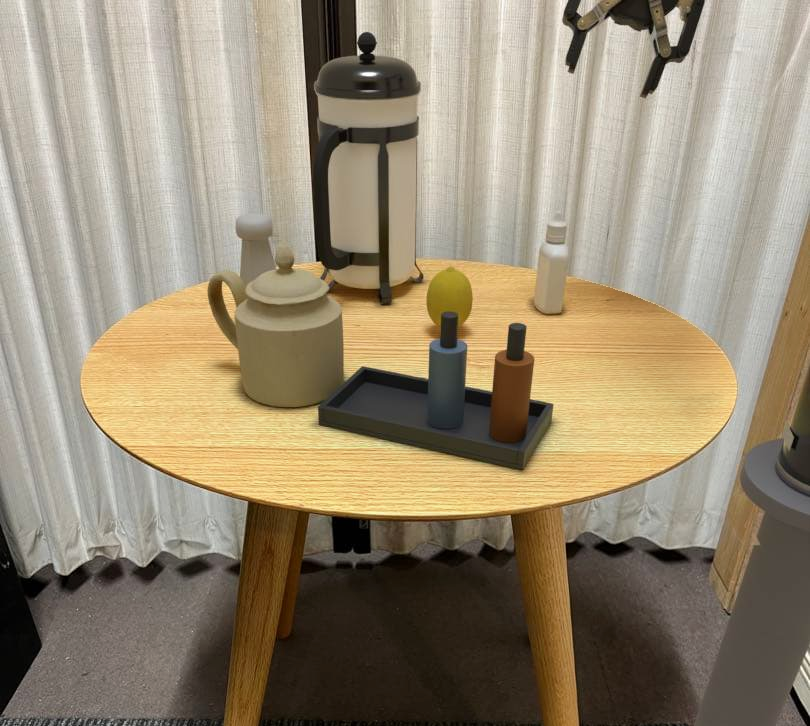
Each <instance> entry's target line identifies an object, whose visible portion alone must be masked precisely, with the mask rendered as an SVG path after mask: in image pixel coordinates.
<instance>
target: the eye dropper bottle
mask: <svg viewBox="0 0 810 726" xmlns="http://www.w3.org/2000/svg"><path fill="white" fill-rule="evenodd" d="M562 213H563V212H562V211H561V210H557V211H555V214H554V216H553V219H552V220H551V221H548V222H547V224H546V231H545V232H546V233H545V240H544V241H542V242H541V244H540V246H539V251H538V258H537V259H538V260H537V267H536V279H535V286H534V296H533V297H534V298H533V300H534V301H533V303H534V304H533V305H534V307H535V308H536V309H537V310H538V311H539V312H541V313H543V314H545V315H546V314H547V315H550V314H551V315H552V314H553V315H554V314H556V315H557V314H561V312H562V309H563V307H564V306H563V305H564V296H565V289H566V281H567V275H568V273H567V272H568V265H569V257H570V256H569V255H570V251H569V247H568V245H567V243H566V242H565V241H566V237H567V230H568V229H567V228H568V224H567V222H565V221H564V220H563V214H562Z"/></svg>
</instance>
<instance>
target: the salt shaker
mask: <svg viewBox="0 0 810 726" xmlns="http://www.w3.org/2000/svg"><path fill="white" fill-rule="evenodd" d="M273 230H274V228H273V221H272V218H271V217H270V216H269V215H268V214H265V213H260V212H247V213H244V214H243V213H242V214H240V215H239V216H237V218H236V219H235V234H236V236H237V237H238V238H239V239H241V251H240V268H239V276H240V278H241V279H242V280H243V282H244V284H245V285H246V286H247V285H248V284H249V283H250V282H251V281H253V280H255V279H256V278H257V277H258V276H260V275H261V274H263V273H265V272H267V271H271V270H275V269H277V267H276V262H275V258H274V255H273V251H272V248H271V244H270V240H269V238H271V237H272V236H273V233H274V232H273Z"/></svg>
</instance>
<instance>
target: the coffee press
mask: <svg viewBox="0 0 810 726" xmlns="http://www.w3.org/2000/svg"><path fill="white" fill-rule="evenodd" d="M377 44H378V42H377V39H376V37H375V35H374V34H373V33H372V32H369V31H364V32H362V33H361V34H359V36H358V38H357V41H356V45H357V48H358V49H359V51H360V52H361V53H360V54H359V55H348V56H342V57H337V58H334V59H331V60H329V61H327V62H326V63H325V64H324V65H323V66H322V67H321V69H320V71H319V72H318V75H317V80H315V81H314V83H313V89H314V92H315V95H316V96H317V104H318V105H317V106H318V107H317V108H318V116H317V117H316V121H317V134H318V143H317V146H316V149H315V154H314V159H313V168H312V187H313V188H312V189H313V190H312V191H313V205H314V206H313V211H314V227H315V240H316V241H315V243H316V249H317V254H318V255H317V256H318V258H319V261H320V263H321V265H322V266H323V272H322V274H321V276H320V277H319V279H321V280H323V281H325V280H326V278H327V276H328V275H329V276H330V278H331V279H332V280H331V281H330V282H329V283H327V284H328V286H329V290H328V291H327V292H326V293H325V294H327V293H329V292H330V291H331V289H333V287H335V286H336V285H338V284H341V285H343V286H345V287H350V288H354V289H355V288H356V289H363V290H375V291H376V293H377V297H378V300H379V304H380V305H388V304H389V305H390V304H392V302H393V296H392V291H391V290H392V289H391V287H396V286H398V285H401V284H403V283H405V282H406V281H408V280H409V279H411V280H412V281H413V282H414V283H416V284H419V283H421V282H423V280H424V277H425V276H424V274H423V272H422V271H421V269H420V268H419V266H418V265H417V203H418V202H417V194H418V136H419V133H420V116H419V115H418V98H419V95H420V93H421V91H422V83H421V82H420V81H419V80H418V77H417V73H416V71H415V69H414V68H413V66H412V65H410V64H409V63H408V62H407V61H405V60H403V59H400V58H397V57H393V56H385V55H375V54H374V53H373V52H374V51H375V50H376V48H377ZM415 269H416V270H417V271H418V272H419V275H418V277H417V278H413V277H412V275H414V272H415Z"/></svg>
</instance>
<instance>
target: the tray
mask: <svg viewBox="0 0 810 726" xmlns="http://www.w3.org/2000/svg"><path fill="white" fill-rule="evenodd" d="M491 401H492V391H491V390H486V389H481V388H476V387H471V386H466V385H465V399H464V416H463V423H462V424H461V425H460V426H458V427H456V428H452V429H440V428H436V427H433V426H432V425H430V424H429V423H428V421H427V410H428V378H425V377H422V376H421V377H420V376H415V375H410V374H406V373H405V374H404V373H399V372H394V371H391V370H390V371H389V370H384V369H380V368H375V367H369V366H361V367H359V368H358V369H357V370H356V371H355V372H354V373H353V374H352V375H351V376H350V377H348V378H347V379H346V381H344V383H343V384H342V385H341V386H340V387H339V388H338V389H337V390H336V391H334V392H333V393H332V394H331V395H330V396H329V397H328V398H327V399H326V400H325V401H323V402H320V403H319V405H318V406H317V414H318V416H317V417H318V425H320V426H325V427H329V428H334V429H337V430H343V431H347V432H351V433H354V434H355V433H356V434H359V435H360V434H361V435H365V436H369V437H374V438H378V439H382V440H388V441H392V442H396V443H401V444H405V445H409V446H414V447H418V448H422V449H426V450H431V451H436V452H440V453H445V454H449V455H453V456H459V457H462V458H466V459H471V460H476V461H481V462H485V463H489V464H493V465H498V466H502V467H507V468H511V469H516V470H520V471H523V470H524V468H525V466H526V465H527V463H528V462H529V460H530V458H531V456H532V455H533V454H534V451H535V450H536V448H537V446H538V445H539V443H540V441H541V440H542V438H543V436H544V435H545V433H546V431H547V430H548V427H549V426H550V425H551V423H552V421H553V420H552V419H553V412H554V405H555V404H554V403H551V402H548V401H541V400H537V399H531V398H530V404H529V413H528V422H527V431H526V436H525V438H524V439H523V440H521V441H518V442H513V443H506V442H501V441H497V440H495V439H493V438H492V437H491V436H490V434H489V426H490V413H491Z"/></svg>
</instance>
